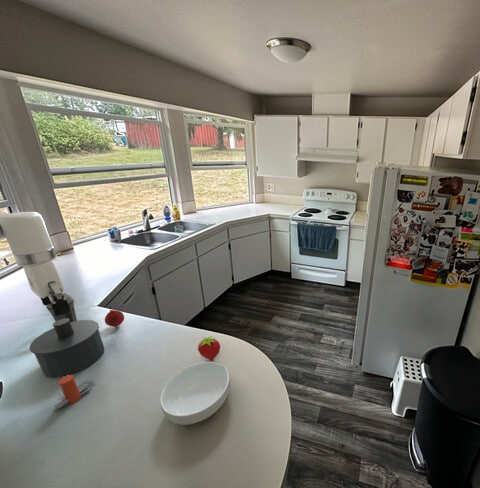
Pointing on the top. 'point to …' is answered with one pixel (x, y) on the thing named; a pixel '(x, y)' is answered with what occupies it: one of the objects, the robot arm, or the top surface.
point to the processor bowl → (72, 358)
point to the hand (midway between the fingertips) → (57, 308)
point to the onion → (114, 318)
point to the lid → (64, 336)
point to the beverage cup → (67, 315)
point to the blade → (71, 391)
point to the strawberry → (209, 348)
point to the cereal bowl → (195, 393)
